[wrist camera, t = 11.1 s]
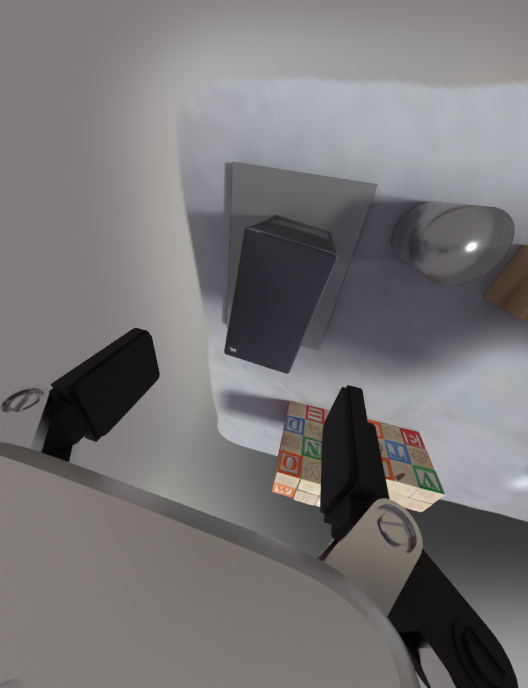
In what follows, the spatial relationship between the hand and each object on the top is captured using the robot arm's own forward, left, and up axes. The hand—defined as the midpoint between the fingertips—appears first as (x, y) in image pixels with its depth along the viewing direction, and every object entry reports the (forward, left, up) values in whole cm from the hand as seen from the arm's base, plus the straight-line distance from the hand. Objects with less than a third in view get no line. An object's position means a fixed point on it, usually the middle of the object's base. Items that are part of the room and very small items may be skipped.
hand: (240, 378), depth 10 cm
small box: (0, 0, -18) cm, 18 cm away
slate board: (0, 0, -18) cm, 18 cm away
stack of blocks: (-15, +24, -19) cm, 34 cm away
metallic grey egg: (-12, -6, -18) cm, 22 cm away
